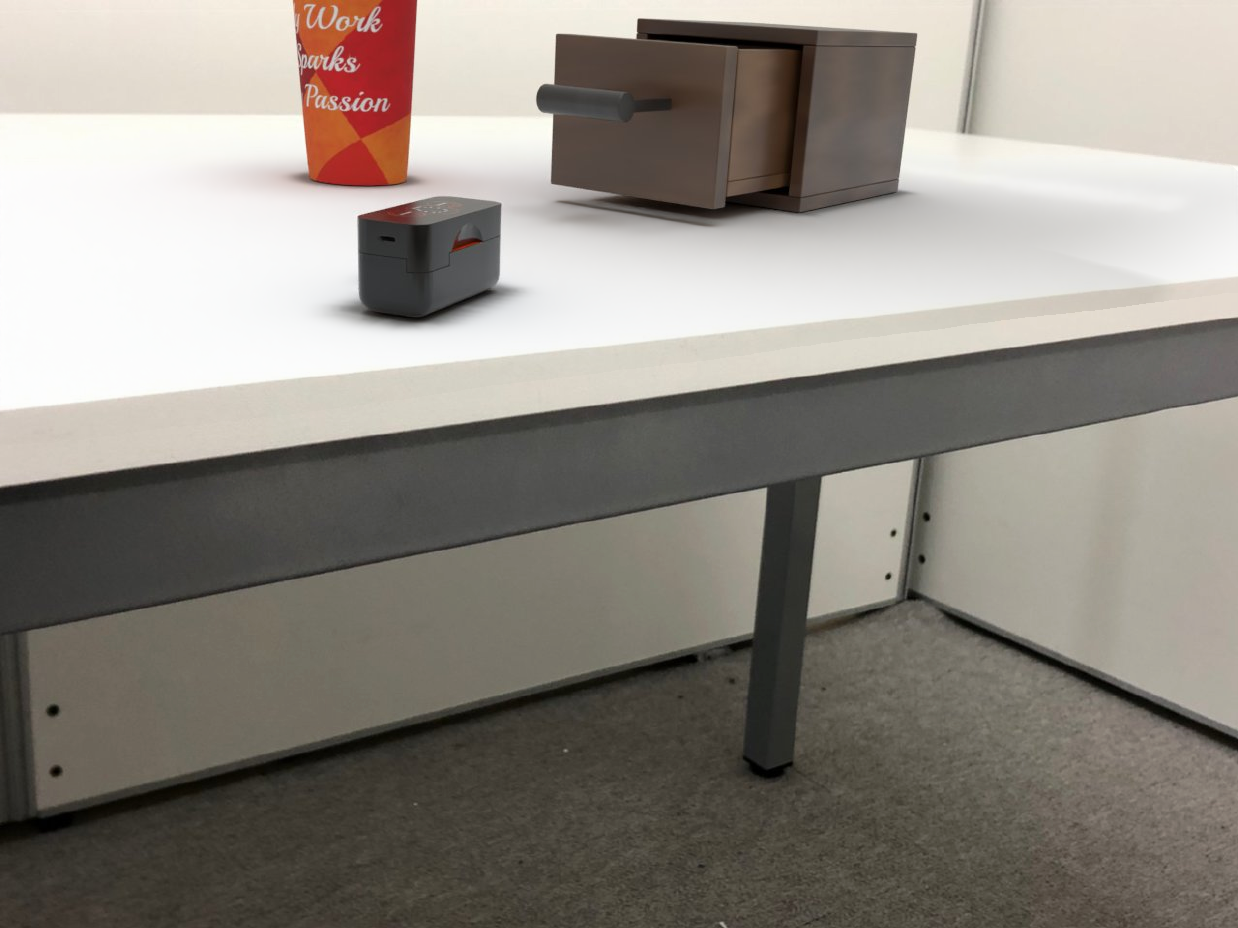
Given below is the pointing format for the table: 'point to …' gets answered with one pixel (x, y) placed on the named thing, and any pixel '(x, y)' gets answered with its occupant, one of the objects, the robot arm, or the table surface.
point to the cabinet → (827, 106)
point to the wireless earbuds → (428, 254)
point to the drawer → (672, 117)
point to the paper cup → (356, 88)
